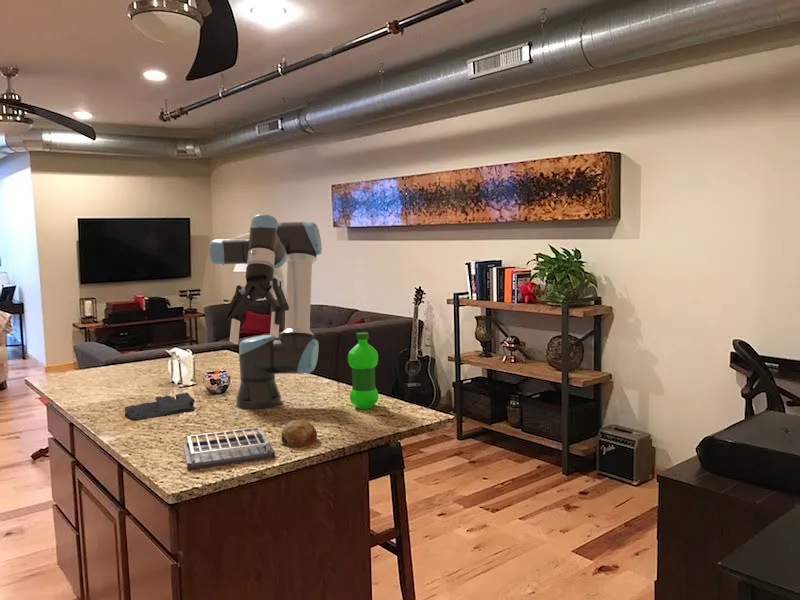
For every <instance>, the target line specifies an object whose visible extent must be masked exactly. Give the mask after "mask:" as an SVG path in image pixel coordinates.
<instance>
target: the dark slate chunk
mask: <svg viewBox="0 0 800 600" xmlns="http://www.w3.org/2000/svg"><path fill="white" fill-rule="evenodd" d="M154 400H155V401H152V402H143V403H139V404H137V405H135V404H131V405H129V406H127V405H126V406H125V407H124V410H123V411H124V412H125V414H126V415H127V417H128V418H129V419H130V420H132V421H135V422H136V421H137V422H139V421H142V420H149V419H155V418H162V417H167V415H168V416H172V415H171V414H174V415H177V413H180V414H184V412H185V413H190V412H194V411H196V410H197V408H195V407H194V404H195V399H194V398H193V397H192V396H191V394H189V392H183V393H182V392H181V393H178V394H175V397H174V396H170V395H165V396H161V395H160V396H156V397H155V399H154Z"/></svg>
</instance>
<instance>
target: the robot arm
mask: <svg viewBox="0 0 800 600" xmlns="http://www.w3.org/2000/svg"><path fill="white" fill-rule="evenodd" d="M322 247H323V246H322V238H321V234H320V229H319V227H318V225H317V224H316V223H315V222H313V221H294V222H292V221H291V222H290V221H289V222H286V221H285V222H284V221H283V222H278V220H277V218H276V217H274V216H273V215H270V214H265V213H263V214H256V215H255V216H253V217H252V218H251V222H250V226H249V230H248V232H247V233H245V234H240V235H238V236H234V237H231V238H220V239H219V238H218V239H213V240H212V241H210V244H209V247H208V248H209V250H208V251H209V252H208V253H209V258H210V261H211V262H212V263H213V264H214V265H223V266H224V265H238V264H239V265H242V264H243V265H245V264H246V265H247V266H246V268H245V269H246V270H245V280H246V284H245V285H244V286H241V285H239V284H238V285H237V286H236V288H235V293H234V295H233V297H232V298H231V301H230V303H229V305H228V306H227V309H226V312H225V313H224V319H227V320H229V327H228V330H229V332H230V334H229V340H228V341H229V342H230V343H232V344H234V345H239V347H238V350H239V351H238V352H239V353H238V358H239V373H240V374H239V376H240V377H239V378H240V385H239V388H238V390H237V395H236V400H235V401H236V402H235V404H236V406H237V407H239V408H241V409H249V410H250V409H251V410H255V409H256V410H257V409H266V408H267V409H268V408H272V407H274V406H275V407H276V406H277V405H279V404H281V402H282V397H281V392H280V390H279V388H278V386H277V382H276V379H275V378H276V376H275V375H276V374H280V375H282V374H284V375H286V374H298V375H302V374H310V373H312V372H313V371H315V369H316V366H317V363H318V358H319V352H320V351H319V341H318V339H316V338H315V335H314V333H313V332H312V331H311V329H310V328H311V303H312V300H311V299H312V298H311V297H312V277H313V276H312V275H313V274H312V273H313V272H312V271H313V264H314V263H315V262H316V261H317V256H318V255H321V254H322ZM285 263H286V264H287V267H286V268H287V269H286V270H287V271H286V289H285V290H286V291H285V292H286V293H284V291H283V288H282V281H281V280H280V279H278V278H277V277H276V278H275V277H274V271H275V269H278V268H280V267H282V266H283V265H284V264H285ZM271 289H273V291H274V294H275V297H276V299H277V300H276V299H275V297H274V295H273V294H272V292H270V290H271ZM260 299H261V300H263V299H266V301H267V302H268V304H269V305H270V306H271V308H272V310H273V311H271V318H270V330H269V331H270V332H269V334H268V335H267V334H266V335H265V334H263V335H258V336H253V337H249V338H245V339H243V340H241V342H239V338H240V328H241V327H240V326H241V321H240V320H239V319H240V318H241V317H242V315H243V314H244V312H245V311H246V310H247V309H248V307H249V306H250V304H251V303H252V304H253V302H254V301H258V300H260ZM284 312H285V313H284ZM283 313H284V314H285V315H284V316H285V317H284V329H283V331H281V332H280V325H282V322H283V321H282V320H283ZM278 338H279V339H278Z"/></svg>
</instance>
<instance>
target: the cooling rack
mask: <svg viewBox="0 0 800 600" xmlns="http://www.w3.org/2000/svg"><path fill="white" fill-rule="evenodd" d="M255 431H256V432H255ZM246 432H252V433H251V434H246ZM237 433H243V435H237ZM228 434H233V435H234V436H228ZM221 435H224V437H221V438H219V437H218V436H221ZM213 436H214V437H215V438H213V439H209V437H213ZM186 438H187V442H183V445H182V446H183V451H184V452H183V453H184V458H185V464H186V468H187V471H191V470H199V469H198V468H200V469H205V468H212V467H213V466H214V467H218V466H219V467H220V466H227V465H226V464H228V465H233V464H232V463H235V464H241V463H240V462H242V463H246V461H247V463H248V461H249V462H254V461H255V460H256V461H262V460H261V459H263V460H269V459H268V458H270V459H275V458H276V452H275V450H274V448H273V447H272V444H270V442H269V439H267V438H268V437H266V435H265V433H264V432H263V430H262V428H261V427H260V426H256V427H248V428H240V429H231V430H225V431H224V430H223V431H217V432H209V433H201V434H191V435H187V437H186ZM199 438H206V439H205V440H199ZM192 439H196V441H192ZM214 467H213V468H214Z"/></svg>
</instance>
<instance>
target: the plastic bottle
mask: <svg viewBox="0 0 800 600" xmlns="http://www.w3.org/2000/svg"><path fill="white" fill-rule="evenodd" d="M355 334H356V335H355V336H356V337H355V338H356V340H357V343H356V345H354V346H353V347H352V348H351V350H349V352H348V355H347V363H348V366H349V367H350V368H351V378H352V381H351V382H352V383H351V384H352V388H351V391H350V394H349V400H350V402H351V404H352V405H353V406H355V407H356V408H357V409H360V410H365V409H366V410H369V409H371V408H373V407H374V406H375V405H376V403H377V402H378V401H379V392H378V389H377V388H376V366H378V364H379V363H378V362H379V353H378V350H376V349H375V348H374V347H373V345H370V343H368V340H369V339H370V336H369V334H370V333H369V332H366V331H363V332H356V333H355Z"/></svg>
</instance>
